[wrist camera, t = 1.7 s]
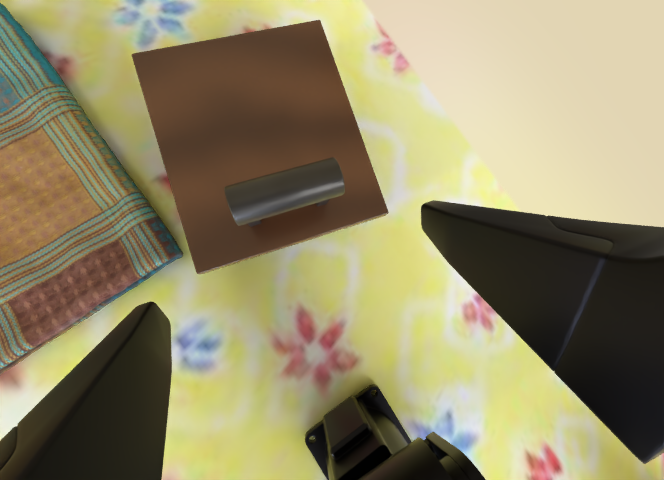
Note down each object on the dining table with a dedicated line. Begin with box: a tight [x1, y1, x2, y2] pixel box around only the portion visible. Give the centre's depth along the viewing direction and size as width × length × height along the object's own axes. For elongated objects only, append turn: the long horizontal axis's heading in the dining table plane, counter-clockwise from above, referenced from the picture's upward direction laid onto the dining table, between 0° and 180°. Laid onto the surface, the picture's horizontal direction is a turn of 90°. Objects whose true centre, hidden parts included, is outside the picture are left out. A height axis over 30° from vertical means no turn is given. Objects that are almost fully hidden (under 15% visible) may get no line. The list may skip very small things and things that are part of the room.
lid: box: [132, 20, 388, 274], centre depth 15 cm, size 13×12×5 cm
